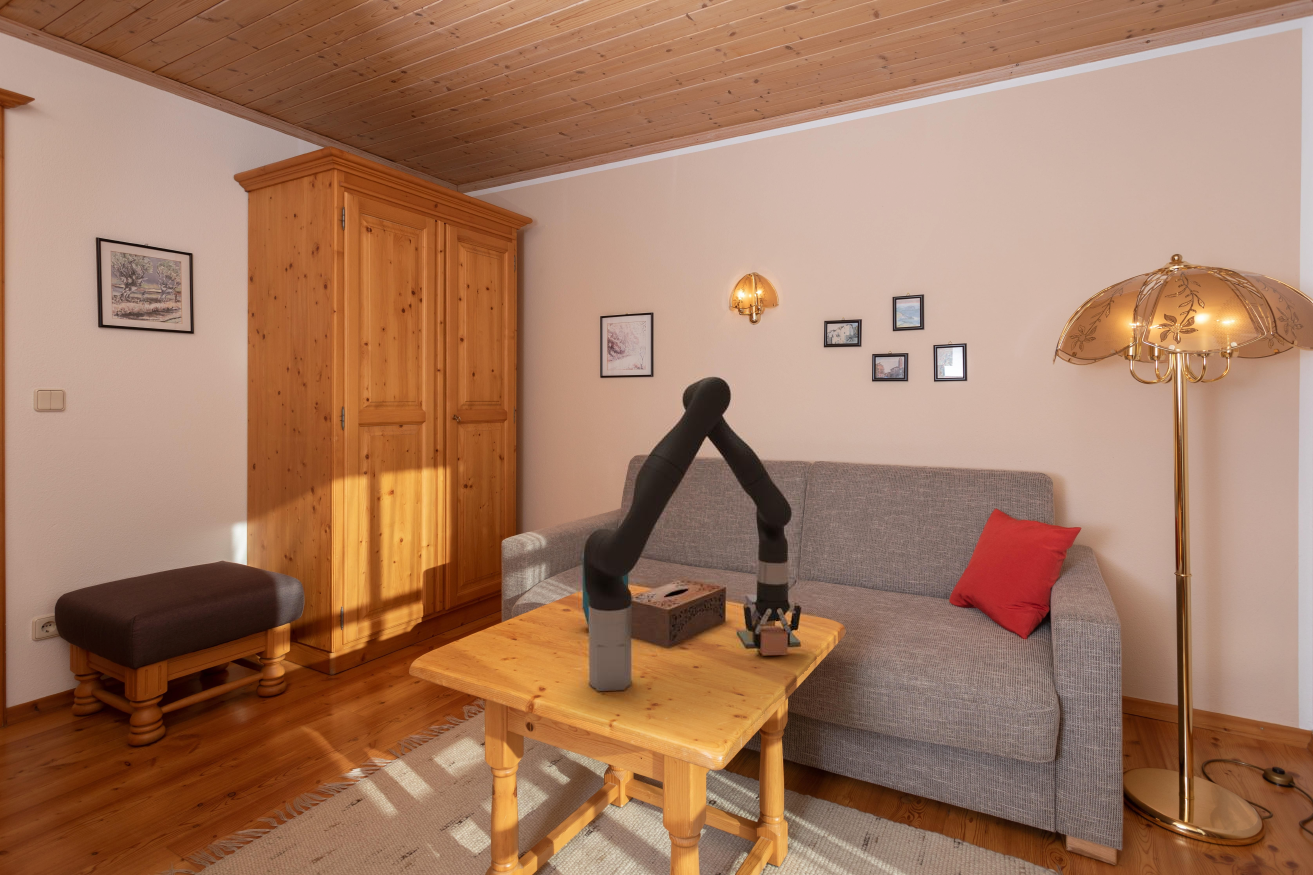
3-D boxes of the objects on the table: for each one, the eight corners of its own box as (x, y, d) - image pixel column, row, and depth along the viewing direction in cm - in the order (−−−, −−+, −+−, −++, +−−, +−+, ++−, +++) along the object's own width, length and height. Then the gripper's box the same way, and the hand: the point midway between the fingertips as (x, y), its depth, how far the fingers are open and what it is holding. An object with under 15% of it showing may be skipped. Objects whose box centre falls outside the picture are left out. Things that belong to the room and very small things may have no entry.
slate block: (775, 620, 171) (775, 600, 171) (751, 621, 170) (751, 601, 170) (768, 612, 177) (768, 594, 177) (745, 613, 176) (746, 594, 176)
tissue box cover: (683, 612, 197) (683, 578, 197) (725, 622, 188) (725, 587, 188) (624, 636, 178) (624, 598, 177) (668, 649, 168) (668, 609, 168)
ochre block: (774, 640, 171) (775, 620, 171) (751, 640, 171) (751, 621, 170) (768, 631, 177) (768, 612, 177) (745, 632, 177) (746, 613, 176)
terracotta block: (787, 654, 162) (787, 633, 162) (762, 655, 161) (763, 634, 161) (779, 645, 168) (780, 625, 168) (755, 646, 167) (756, 626, 167)
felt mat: (800, 645, 170) (800, 641, 170) (745, 648, 169) (745, 644, 169) (788, 632, 180) (788, 628, 180) (736, 634, 179) (736, 630, 178)
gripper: (746, 583, 159) (745, 653, 160) (806, 582, 161) (805, 652, 162) (739, 575, 167) (738, 642, 168) (797, 574, 168) (795, 641, 169)
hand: (771, 646), depth 165 cm, fingers closed on terracotta block, 6 cm apart
